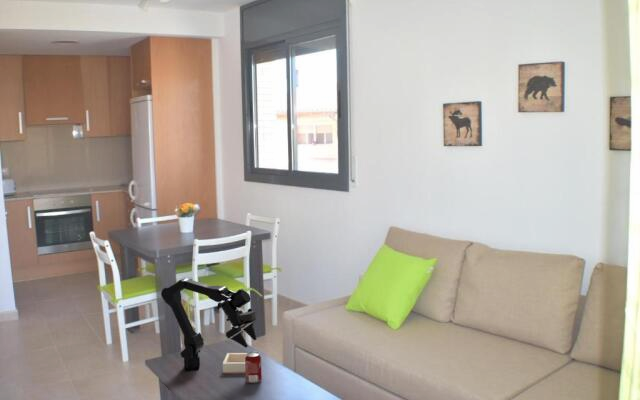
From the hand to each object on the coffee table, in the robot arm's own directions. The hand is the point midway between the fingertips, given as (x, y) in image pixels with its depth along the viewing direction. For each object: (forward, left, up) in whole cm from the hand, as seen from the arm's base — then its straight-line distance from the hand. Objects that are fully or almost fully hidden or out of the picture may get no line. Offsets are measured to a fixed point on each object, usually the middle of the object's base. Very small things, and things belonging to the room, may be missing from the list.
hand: (251, 343), depth 255 cm
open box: (-5, +10, -14) cm, 18 cm away
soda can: (0, -6, -15) cm, 16 cm away
